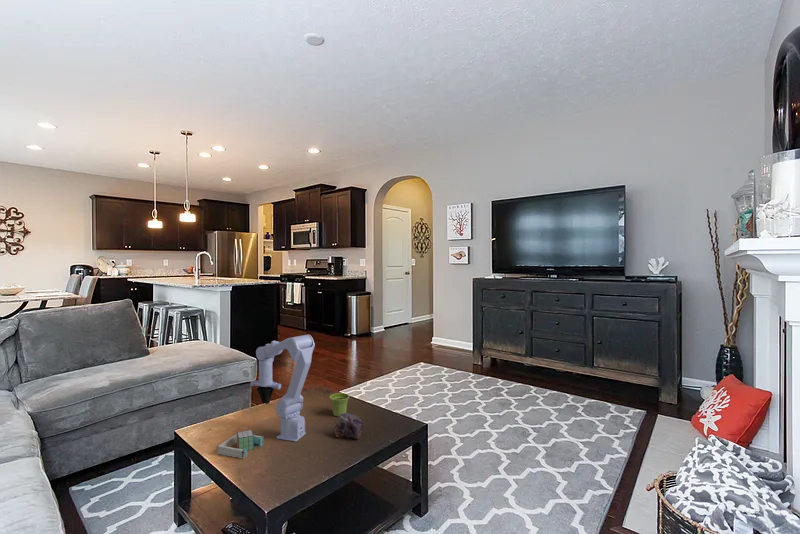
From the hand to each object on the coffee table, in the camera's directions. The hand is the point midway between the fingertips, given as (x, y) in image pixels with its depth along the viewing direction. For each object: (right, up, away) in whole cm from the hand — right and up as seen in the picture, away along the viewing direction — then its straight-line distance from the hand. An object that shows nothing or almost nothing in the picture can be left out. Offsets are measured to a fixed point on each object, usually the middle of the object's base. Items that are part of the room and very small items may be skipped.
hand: (265, 403), depth 177 cm
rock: (+39, -11, -9) cm, 41 cm away
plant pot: (+31, -10, +13) cm, 35 cm away
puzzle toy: (-1, -11, -20) cm, 23 cm away
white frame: (-2, -11, -21) cm, 24 cm away
